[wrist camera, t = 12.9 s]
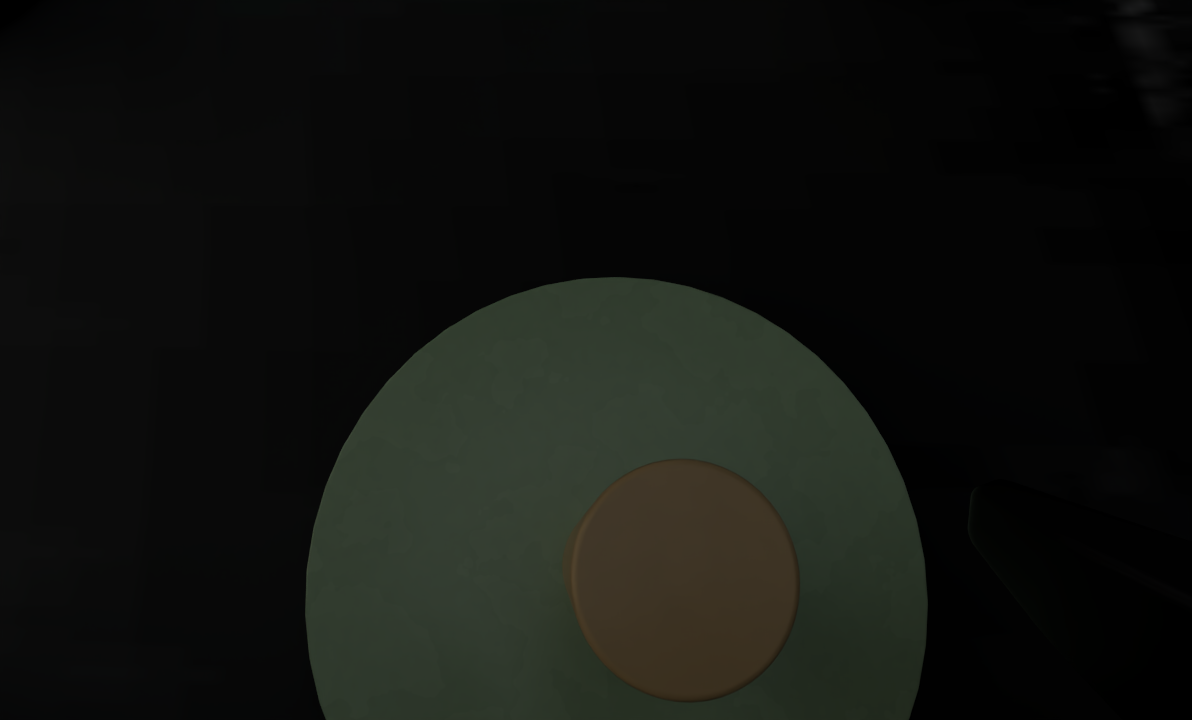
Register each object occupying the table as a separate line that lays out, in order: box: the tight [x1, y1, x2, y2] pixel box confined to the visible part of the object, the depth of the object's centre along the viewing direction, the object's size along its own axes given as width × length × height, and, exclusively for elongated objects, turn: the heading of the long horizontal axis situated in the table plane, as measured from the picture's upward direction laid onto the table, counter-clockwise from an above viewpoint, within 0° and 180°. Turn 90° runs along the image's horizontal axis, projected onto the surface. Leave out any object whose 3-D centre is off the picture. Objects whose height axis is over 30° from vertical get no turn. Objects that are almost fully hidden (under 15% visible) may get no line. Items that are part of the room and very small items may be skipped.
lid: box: [305, 277, 928, 720], centre depth 11 cm, size 13×13×8 cm
